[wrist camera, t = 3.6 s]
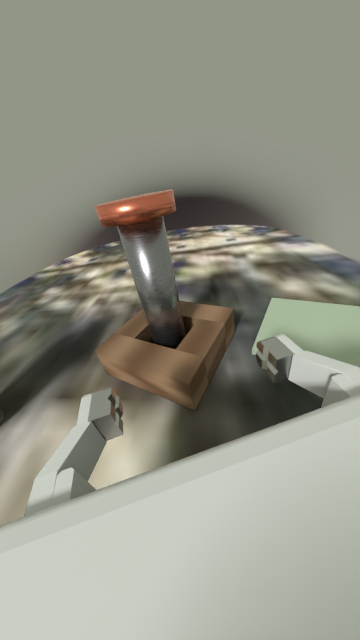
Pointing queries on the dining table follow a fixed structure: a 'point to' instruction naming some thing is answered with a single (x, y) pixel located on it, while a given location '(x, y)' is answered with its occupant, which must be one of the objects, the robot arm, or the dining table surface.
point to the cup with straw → (1, 415)
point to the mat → (315, 328)
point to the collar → (171, 353)
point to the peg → (149, 259)
